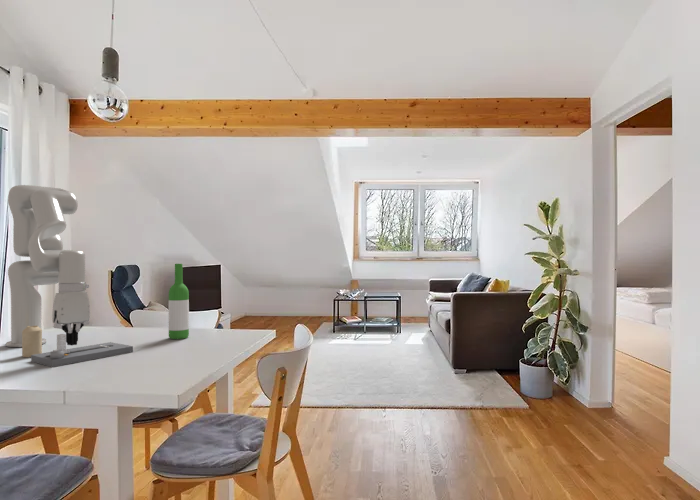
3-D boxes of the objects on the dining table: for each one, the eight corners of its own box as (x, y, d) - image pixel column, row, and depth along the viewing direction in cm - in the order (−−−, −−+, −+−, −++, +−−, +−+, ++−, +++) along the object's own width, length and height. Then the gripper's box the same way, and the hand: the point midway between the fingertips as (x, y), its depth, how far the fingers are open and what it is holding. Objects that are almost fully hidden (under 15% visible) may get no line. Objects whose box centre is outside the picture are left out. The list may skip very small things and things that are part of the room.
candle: (32, 357, 157) (32, 327, 157) (18, 357, 158) (18, 327, 158) (45, 354, 162) (45, 324, 162) (32, 353, 163) (32, 324, 163)
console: (31, 361, 152) (31, 348, 152) (110, 347, 173) (110, 336, 173) (52, 367, 144) (52, 353, 144) (132, 352, 166) (132, 340, 166)
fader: (53, 352, 153) (53, 334, 153) (62, 351, 155) (62, 333, 155) (59, 354, 150) (59, 335, 150) (69, 352, 153) (69, 334, 153)
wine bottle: (177, 340, 187) (177, 264, 188) (164, 338, 191) (164, 263, 192) (193, 337, 194) (192, 263, 194) (180, 335, 198) (179, 263, 198)
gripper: (89, 286, 164) (89, 340, 164) (41, 289, 151) (41, 347, 151) (100, 287, 160) (100, 342, 160) (53, 290, 147) (53, 349, 147)
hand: (72, 344), depth 156 cm, fingers closed
